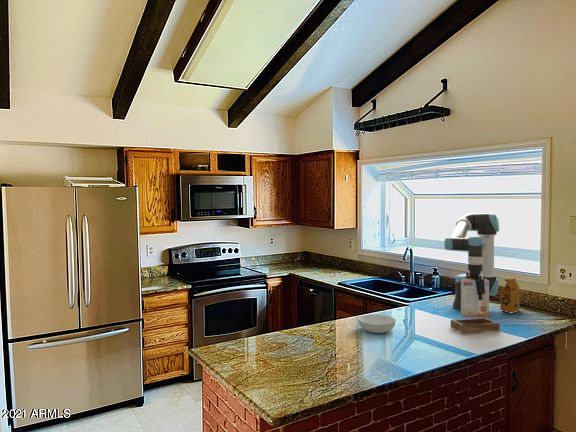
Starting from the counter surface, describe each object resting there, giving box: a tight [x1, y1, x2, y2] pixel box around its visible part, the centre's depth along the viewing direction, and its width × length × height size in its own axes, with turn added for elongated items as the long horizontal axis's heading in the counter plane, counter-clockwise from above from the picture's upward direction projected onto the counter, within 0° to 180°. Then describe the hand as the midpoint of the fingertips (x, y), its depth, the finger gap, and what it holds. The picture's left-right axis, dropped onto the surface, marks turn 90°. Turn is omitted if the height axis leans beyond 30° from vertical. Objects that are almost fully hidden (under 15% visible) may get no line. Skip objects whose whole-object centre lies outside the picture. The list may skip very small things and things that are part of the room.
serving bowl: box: [357, 313, 397, 334], centre depth 255 cm, size 21×21×7 cm
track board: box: [450, 317, 501, 336], centre depth 255 cm, size 13×22×5 cm, turn 102°
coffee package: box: [499, 276, 521, 313], centre depth 296 cm, size 10×12×22 cm
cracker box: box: [460, 279, 490, 318], centre depth 254 cm, size 14×6×21 cm, turn 85°
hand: (474, 304), depth 254 cm, fingers closed on cracker box, 7 cm apart
